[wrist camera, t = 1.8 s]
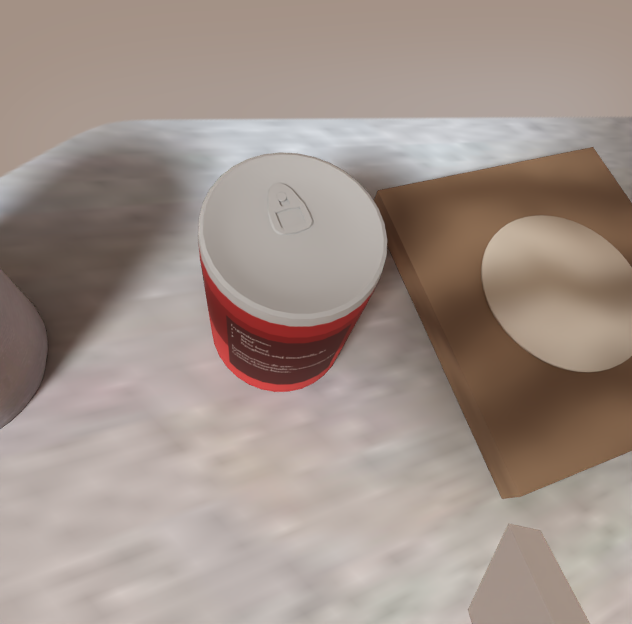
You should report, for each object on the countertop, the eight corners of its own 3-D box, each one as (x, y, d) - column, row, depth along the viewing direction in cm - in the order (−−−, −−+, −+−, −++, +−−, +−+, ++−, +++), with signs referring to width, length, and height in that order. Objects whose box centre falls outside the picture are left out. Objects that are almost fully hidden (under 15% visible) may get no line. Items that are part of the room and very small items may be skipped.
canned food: (290, 253, 32) (313, 125, 22) (366, 350, 30) (429, 258, 20) (185, 312, 29) (156, 197, 19) (261, 422, 27) (272, 358, 17)
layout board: (734, 403, 32) (767, 395, 30) (502, 498, 27) (522, 496, 25) (576, 165, 38) (594, 145, 36) (370, 208, 34) (378, 188, 32)
